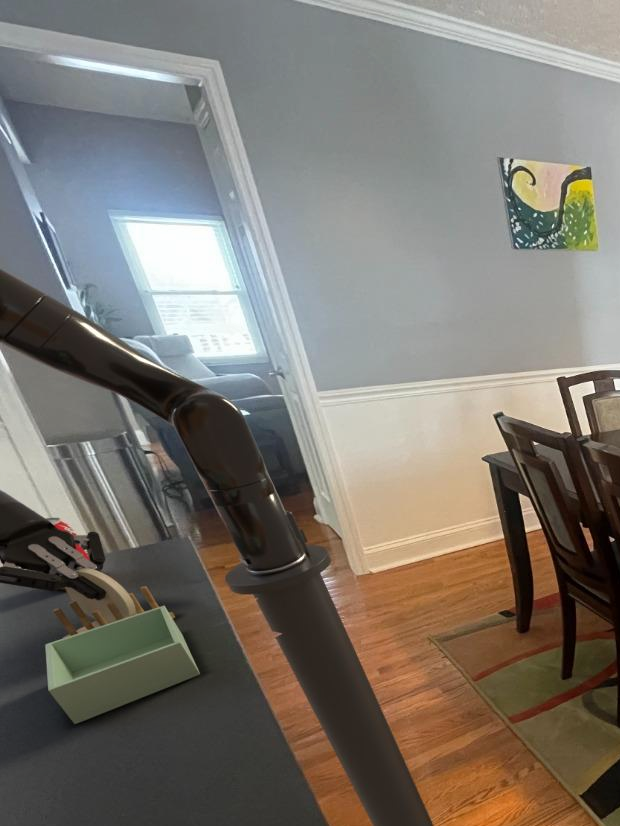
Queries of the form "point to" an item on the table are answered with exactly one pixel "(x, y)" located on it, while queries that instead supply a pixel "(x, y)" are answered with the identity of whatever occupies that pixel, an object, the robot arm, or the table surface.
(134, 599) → the dish rack
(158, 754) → the table surface
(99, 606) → the plate
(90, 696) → the light green open box
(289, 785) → the table surface
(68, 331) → the robot arm
